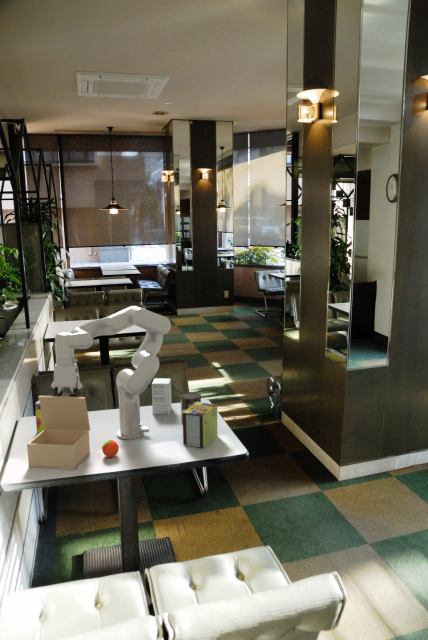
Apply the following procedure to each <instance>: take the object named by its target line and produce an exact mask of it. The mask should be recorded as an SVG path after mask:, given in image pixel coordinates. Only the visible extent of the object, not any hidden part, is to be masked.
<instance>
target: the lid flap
mask: <svg viewBox="0 0 428 640" xmlns="http://www.w3.org/2000/svg"><path fill="white" fill-rule="evenodd" d="M63 392H64V393H62V395H61V396H59V395H58V396H57V395H39V396H38V401H39V403H40V408H41V413H42V418H43V423H44V428H45V429H62V430H83V431H89V432H90V430H91V426H90V419H89V413H88V407H87V401H86V397H83V396H75V397H70V394H71V392H68V391H63Z"/></svg>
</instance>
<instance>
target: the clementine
mask: <svg viewBox="0 0 428 640" xmlns="http://www.w3.org/2000/svg"><path fill="white" fill-rule="evenodd" d="M101 450H102V453H103V455H104V456H105V457H107V458H113V457H115V456H117V454H118V452H119V450H120V448H119V444H118V443H117V442H116V441H114V440H109V439H108V440H107V441H105V442H104V443H103V445H102V447H101Z"/></svg>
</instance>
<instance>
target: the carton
mask: <svg viewBox="0 0 428 640" xmlns="http://www.w3.org/2000/svg"><path fill="white" fill-rule="evenodd" d="M26 447H27V459H28V460H27V462H28V468H40V469H41V468H42V469H57V470H58V469H59V470H77V469H78V468H79V466H80V465H81V464H82V463H83V461H84V460H85V459H86V457H88V455H90V453H91V448H90V431H85V430H60V429H44V430H43V431H42V432H41V433H38V434H37V435H36V436H35V437H33V439H31V440H30V441H29V442H28V443H26Z"/></svg>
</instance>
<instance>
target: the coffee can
mask: <svg viewBox="0 0 428 640" xmlns="http://www.w3.org/2000/svg"><path fill="white" fill-rule="evenodd" d="M197 402H202V394H201V393H198V392H195V391H194V392H192V391H191V392H190V391H189V392H183V393H181V394H180V423H181V425H183V412H184V411H185V410H187V409H188V408H189V407H191V406H192V405H194V404H195V403H197Z"/></svg>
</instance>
